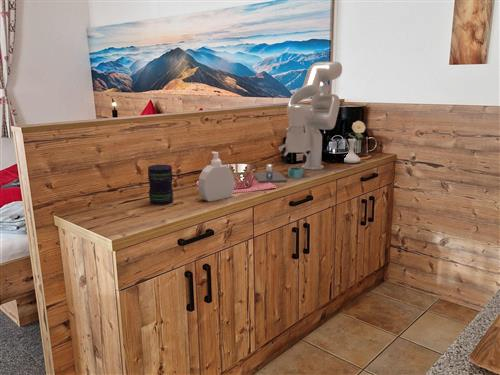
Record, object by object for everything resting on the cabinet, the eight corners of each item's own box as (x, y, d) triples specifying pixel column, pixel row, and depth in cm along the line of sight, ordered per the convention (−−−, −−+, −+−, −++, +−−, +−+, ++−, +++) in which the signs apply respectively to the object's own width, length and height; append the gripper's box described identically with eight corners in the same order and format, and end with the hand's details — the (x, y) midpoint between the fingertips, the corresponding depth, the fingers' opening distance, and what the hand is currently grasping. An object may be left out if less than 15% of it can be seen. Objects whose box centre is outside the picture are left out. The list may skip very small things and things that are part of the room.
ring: (287, 175, 244) (287, 167, 243) (300, 174, 245) (300, 167, 244) (290, 178, 237) (290, 170, 236) (303, 177, 238) (303, 170, 237)
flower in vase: (340, 163, 275) (342, 121, 269) (342, 160, 285) (344, 119, 279) (362, 165, 271) (365, 122, 265) (363, 161, 282) (366, 120, 276)
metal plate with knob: (252, 174, 246) (252, 161, 244) (278, 173, 248) (279, 160, 246) (259, 183, 227) (259, 168, 225) (287, 182, 229) (287, 168, 227)
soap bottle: (227, 194, 206) (227, 149, 201) (234, 196, 202) (234, 151, 197) (197, 200, 196) (196, 153, 191) (204, 202, 192) (203, 155, 187)
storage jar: (147, 200, 196) (145, 165, 192) (170, 198, 199) (169, 163, 196) (151, 206, 187) (149, 170, 183) (175, 204, 190) (174, 168, 187)
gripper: (281, 130, 230) (279, 164, 234) (314, 130, 233) (313, 164, 236) (277, 129, 237) (276, 162, 241) (310, 129, 240) (309, 162, 244)
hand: (294, 163), depth 239 cm, fingers open, 9 cm apart
